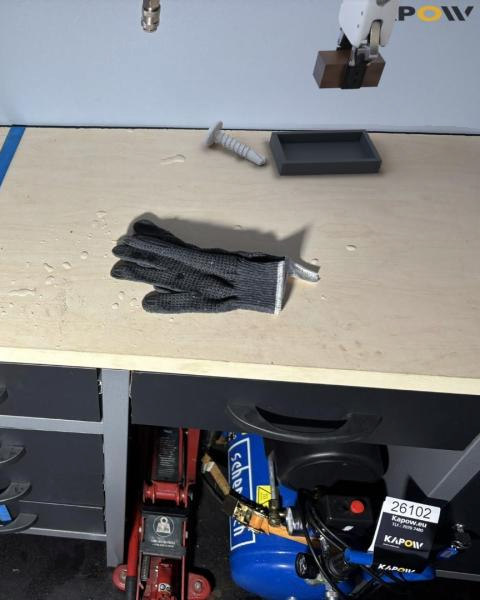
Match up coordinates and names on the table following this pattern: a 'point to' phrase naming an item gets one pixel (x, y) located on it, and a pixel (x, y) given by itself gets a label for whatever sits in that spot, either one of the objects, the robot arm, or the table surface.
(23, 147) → the table surface
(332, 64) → the block
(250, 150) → the screw
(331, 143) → the tray
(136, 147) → the table surface
